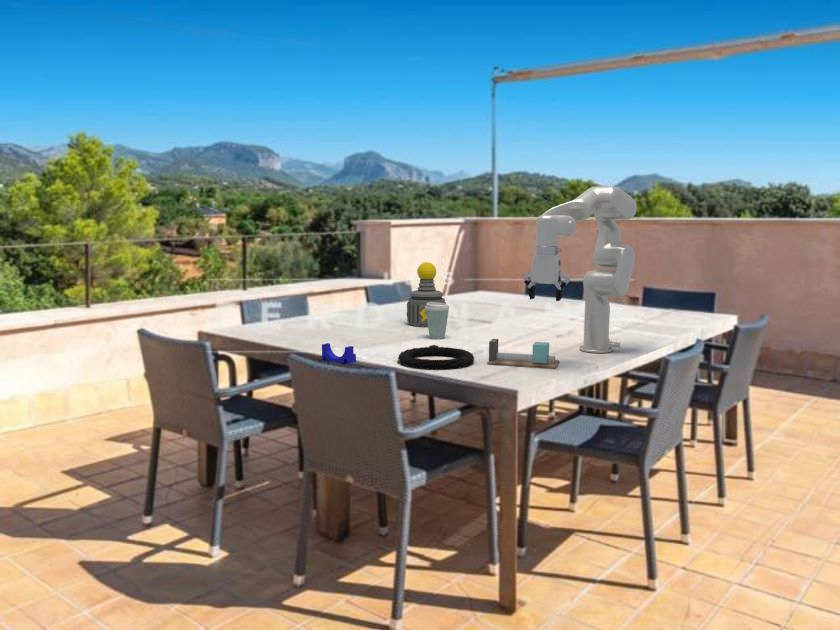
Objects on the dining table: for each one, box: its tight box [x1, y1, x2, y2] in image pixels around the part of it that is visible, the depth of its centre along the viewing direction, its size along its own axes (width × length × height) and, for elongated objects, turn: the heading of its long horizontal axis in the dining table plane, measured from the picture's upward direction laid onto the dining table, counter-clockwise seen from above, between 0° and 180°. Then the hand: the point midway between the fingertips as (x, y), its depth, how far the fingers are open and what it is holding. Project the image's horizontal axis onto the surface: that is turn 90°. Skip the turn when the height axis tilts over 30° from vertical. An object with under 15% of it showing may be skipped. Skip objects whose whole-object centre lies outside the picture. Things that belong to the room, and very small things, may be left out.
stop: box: [488, 338, 499, 361], centre depth 267 cm, size 2×7×7 cm, turn 163°
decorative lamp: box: [406, 261, 447, 328], centre depth 352 cm, size 19×19×30 cm
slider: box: [532, 341, 550, 364], centre depth 262 cm, size 5×6×6 cm
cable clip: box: [321, 342, 357, 365], centre depth 267 cm, size 12×4×6 cm, turn 59°
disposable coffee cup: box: [425, 302, 450, 340], centre depth 315 cm, size 11×11×15 cm
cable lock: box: [397, 344, 475, 370], centre depth 267 cm, size 28×4×30 cm
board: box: [486, 359, 560, 370], centre depth 264 cm, size 24×12×1 cm, turn 73°
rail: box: [496, 351, 556, 364], centre depth 264 cm, size 21×2×2 cm, turn 73°
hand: (545, 299), depth 260 cm, fingers open, 9 cm apart
